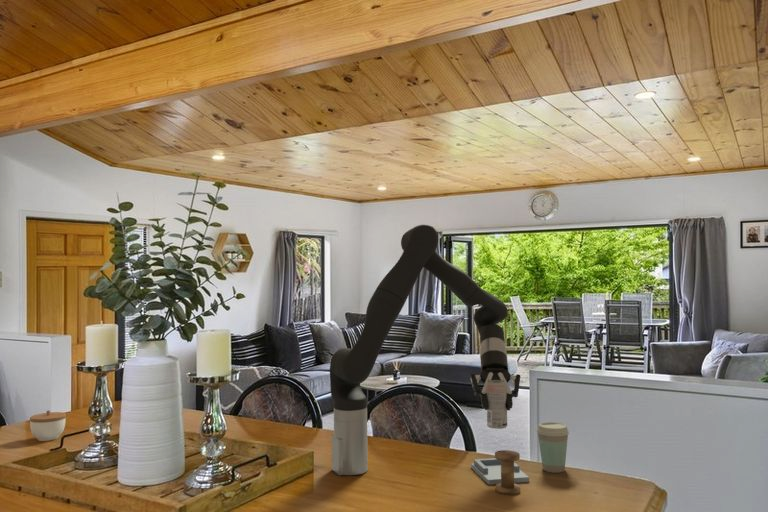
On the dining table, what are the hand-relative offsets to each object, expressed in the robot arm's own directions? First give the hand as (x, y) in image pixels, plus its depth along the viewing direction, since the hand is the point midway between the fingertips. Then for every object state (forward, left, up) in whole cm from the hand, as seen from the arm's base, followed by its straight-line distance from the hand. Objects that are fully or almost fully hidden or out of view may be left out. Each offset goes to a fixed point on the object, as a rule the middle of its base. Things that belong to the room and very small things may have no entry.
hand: (497, 408), depth 162 cm
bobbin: (-4, -10, -18) cm, 21 cm away
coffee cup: (+17, -2, -18) cm, 25 cm away
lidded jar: (-112, +100, -18) cm, 152 cm away
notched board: (+1, +1, -18) cm, 18 cm away
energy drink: (+1, +2, -5) cm, 6 cm away
